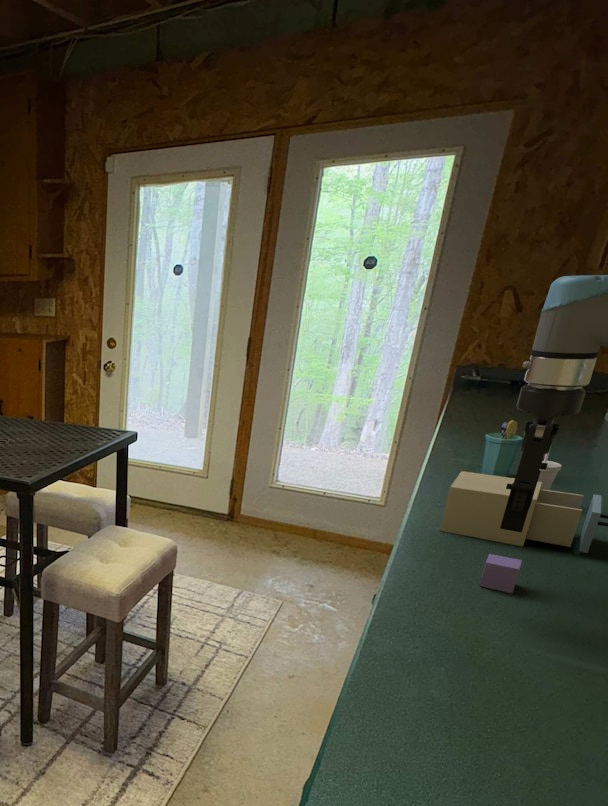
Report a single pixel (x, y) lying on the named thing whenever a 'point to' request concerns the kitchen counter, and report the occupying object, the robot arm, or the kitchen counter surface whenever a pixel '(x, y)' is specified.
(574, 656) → the kitchen counter surface
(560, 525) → the drawer
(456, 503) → the tan drawer cabinet
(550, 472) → the smoothie
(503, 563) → the block
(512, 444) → the cup
